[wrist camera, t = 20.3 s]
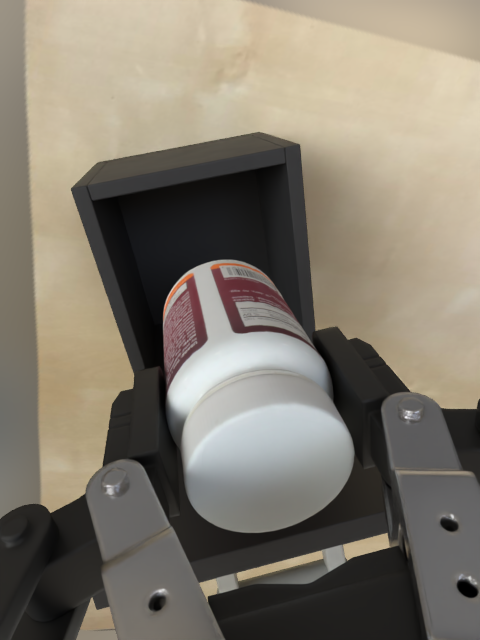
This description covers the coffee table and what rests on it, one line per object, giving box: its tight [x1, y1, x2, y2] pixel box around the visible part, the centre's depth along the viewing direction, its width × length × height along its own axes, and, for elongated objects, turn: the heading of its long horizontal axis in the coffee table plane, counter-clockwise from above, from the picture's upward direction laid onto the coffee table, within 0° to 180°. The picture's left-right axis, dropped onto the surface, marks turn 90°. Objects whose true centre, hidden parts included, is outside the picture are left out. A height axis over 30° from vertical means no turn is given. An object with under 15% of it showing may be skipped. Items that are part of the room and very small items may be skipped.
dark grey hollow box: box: [71, 132, 315, 380], centre depth 29 cm, size 14×12×10 cm
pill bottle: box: [163, 260, 355, 533], centre depth 13 cm, size 5×5×8 cm
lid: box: [93, 446, 388, 610], centre depth 21 cm, size 14×12×5 cm
